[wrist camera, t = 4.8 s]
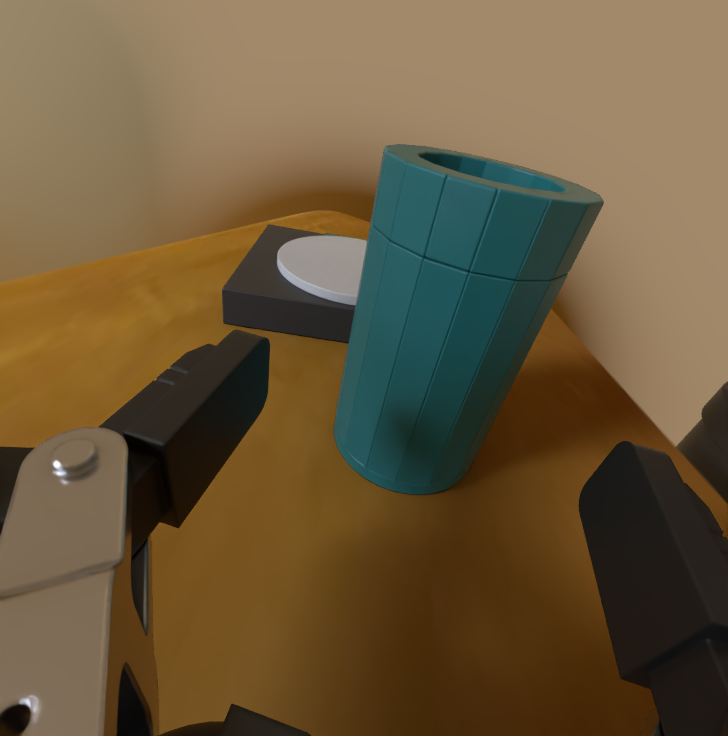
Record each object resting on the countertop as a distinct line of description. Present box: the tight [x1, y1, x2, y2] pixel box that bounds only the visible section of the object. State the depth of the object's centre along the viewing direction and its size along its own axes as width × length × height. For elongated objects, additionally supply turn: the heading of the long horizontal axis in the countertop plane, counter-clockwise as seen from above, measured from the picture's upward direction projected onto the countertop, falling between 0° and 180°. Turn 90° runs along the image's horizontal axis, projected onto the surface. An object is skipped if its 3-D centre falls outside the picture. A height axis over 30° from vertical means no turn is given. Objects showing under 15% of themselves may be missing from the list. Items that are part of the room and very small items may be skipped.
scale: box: [222, 225, 367, 343], centre depth 27 cm, size 14×12×3 cm
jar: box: [334, 144, 603, 495], centre depth 14 cm, size 6×6×11 cm
